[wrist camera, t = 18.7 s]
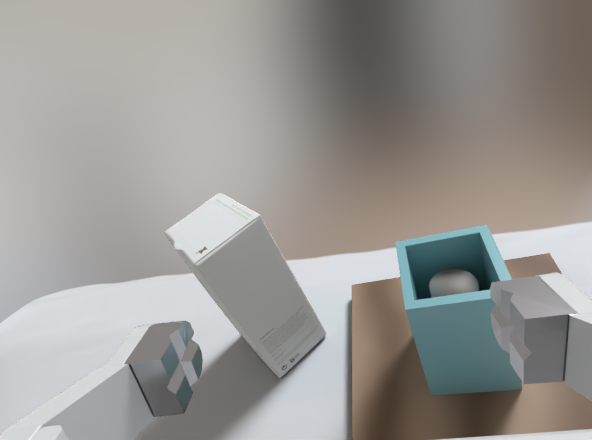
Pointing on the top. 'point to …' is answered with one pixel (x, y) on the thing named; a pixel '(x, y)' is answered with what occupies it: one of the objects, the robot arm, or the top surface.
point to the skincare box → (248, 280)
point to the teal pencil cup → (456, 312)
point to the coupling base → (413, 385)
